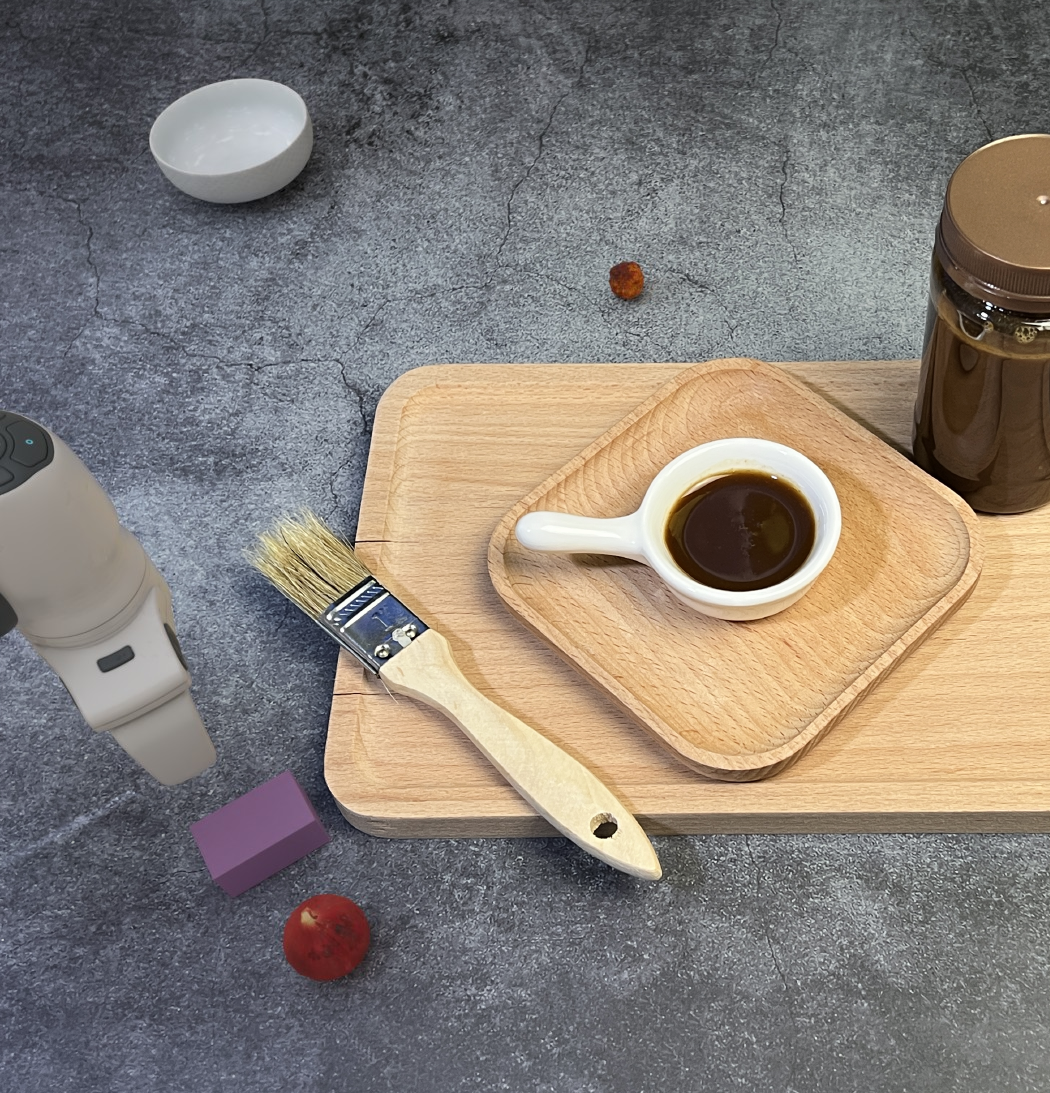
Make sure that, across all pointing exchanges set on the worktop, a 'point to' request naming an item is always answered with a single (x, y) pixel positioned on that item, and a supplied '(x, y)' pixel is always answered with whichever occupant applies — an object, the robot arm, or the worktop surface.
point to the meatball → (626, 279)
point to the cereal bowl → (233, 140)
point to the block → (259, 834)
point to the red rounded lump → (326, 937)
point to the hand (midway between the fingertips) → (171, 703)
